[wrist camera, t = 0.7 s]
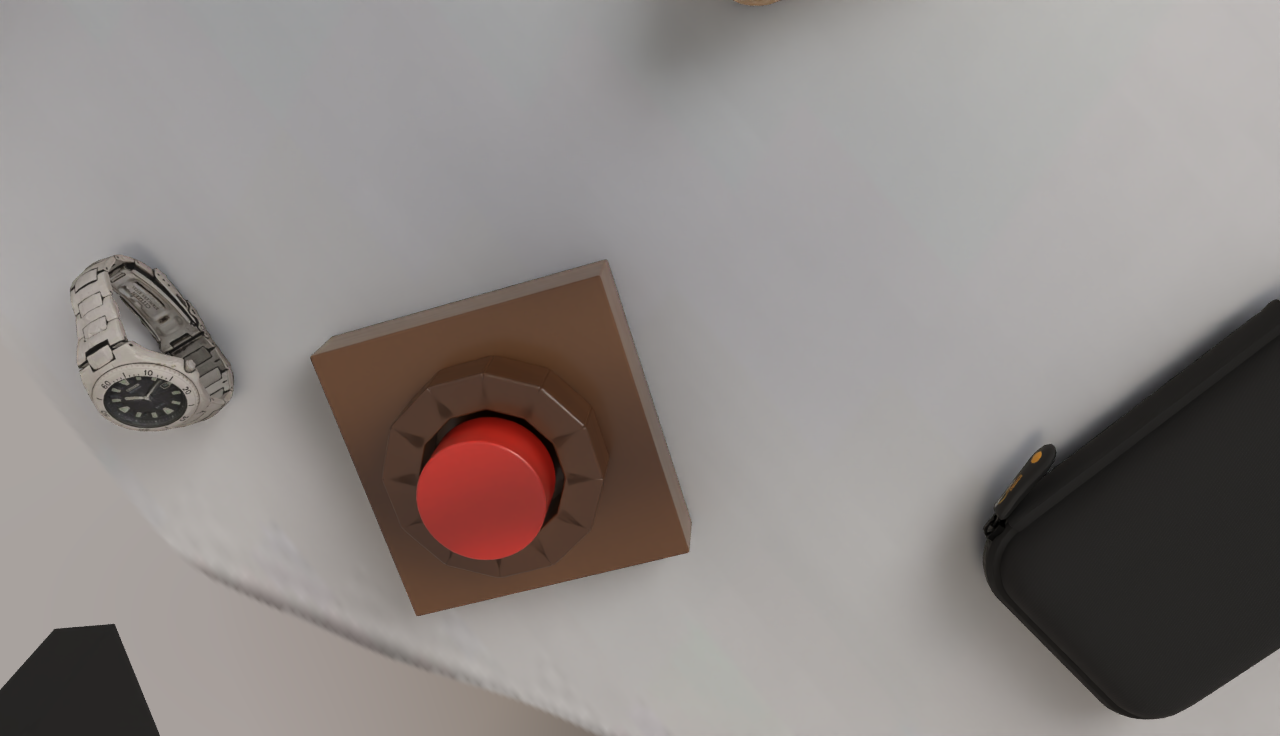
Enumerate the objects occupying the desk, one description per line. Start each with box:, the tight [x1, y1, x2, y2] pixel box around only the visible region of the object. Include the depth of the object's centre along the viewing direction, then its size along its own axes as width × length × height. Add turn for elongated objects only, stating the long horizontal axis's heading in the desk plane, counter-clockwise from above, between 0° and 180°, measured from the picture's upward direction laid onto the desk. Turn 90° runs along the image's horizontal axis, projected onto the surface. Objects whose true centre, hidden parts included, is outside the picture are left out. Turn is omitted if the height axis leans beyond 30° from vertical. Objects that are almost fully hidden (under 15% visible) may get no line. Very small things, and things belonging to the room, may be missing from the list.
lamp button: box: [416, 417, 556, 560], centre depth 36 cm, size 4×4×2 cm
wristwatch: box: [70, 255, 234, 431], centre depth 38 cm, size 4×6×5 cm, turn 30°
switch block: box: [310, 260, 692, 616], centre depth 38 cm, size 10×10×4 cm
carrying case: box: [983, 300, 1280, 719], centre depth 37 cm, size 11×3×15 cm
